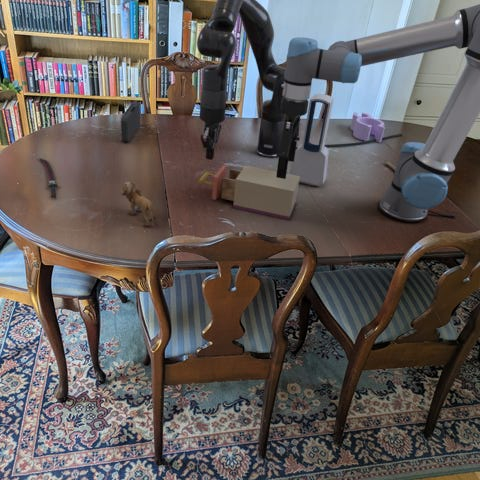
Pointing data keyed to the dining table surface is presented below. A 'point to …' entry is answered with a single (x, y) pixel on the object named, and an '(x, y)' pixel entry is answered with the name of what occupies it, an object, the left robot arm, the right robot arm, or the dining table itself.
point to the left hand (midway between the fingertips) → (209, 158)
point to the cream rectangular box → (265, 192)
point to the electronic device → (313, 147)
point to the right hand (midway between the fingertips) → (285, 169)
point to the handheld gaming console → (130, 121)
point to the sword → (52, 181)
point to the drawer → (222, 183)
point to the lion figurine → (137, 201)
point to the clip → (367, 127)
